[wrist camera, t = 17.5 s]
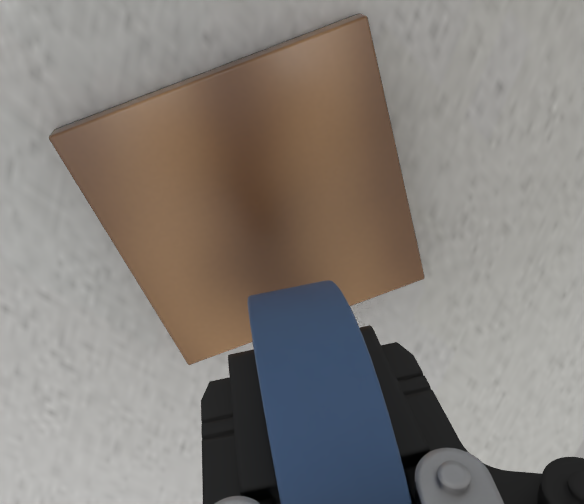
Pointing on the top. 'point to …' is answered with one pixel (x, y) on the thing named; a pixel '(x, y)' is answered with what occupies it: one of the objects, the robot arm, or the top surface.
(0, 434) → the top surface
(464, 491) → the robot arm
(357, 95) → the plate
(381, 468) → the disc
